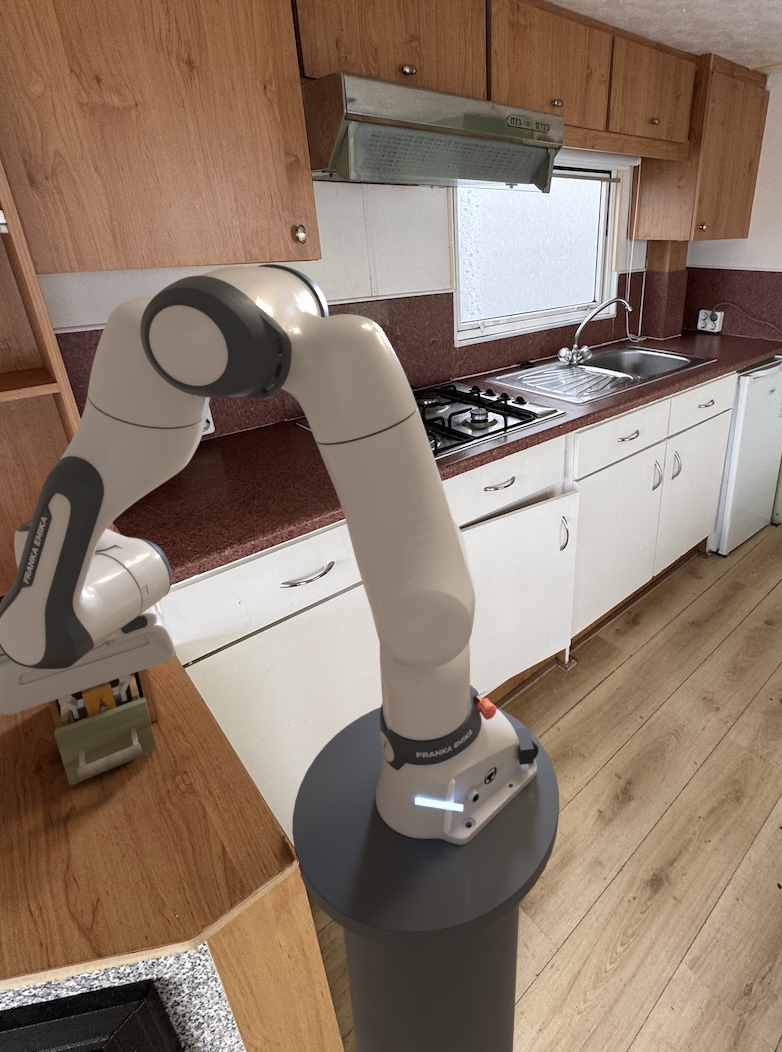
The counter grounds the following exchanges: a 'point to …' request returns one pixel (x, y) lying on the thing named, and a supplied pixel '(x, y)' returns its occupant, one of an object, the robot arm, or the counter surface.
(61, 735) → the drawer
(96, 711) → the supplement box
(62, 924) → the counter surface
